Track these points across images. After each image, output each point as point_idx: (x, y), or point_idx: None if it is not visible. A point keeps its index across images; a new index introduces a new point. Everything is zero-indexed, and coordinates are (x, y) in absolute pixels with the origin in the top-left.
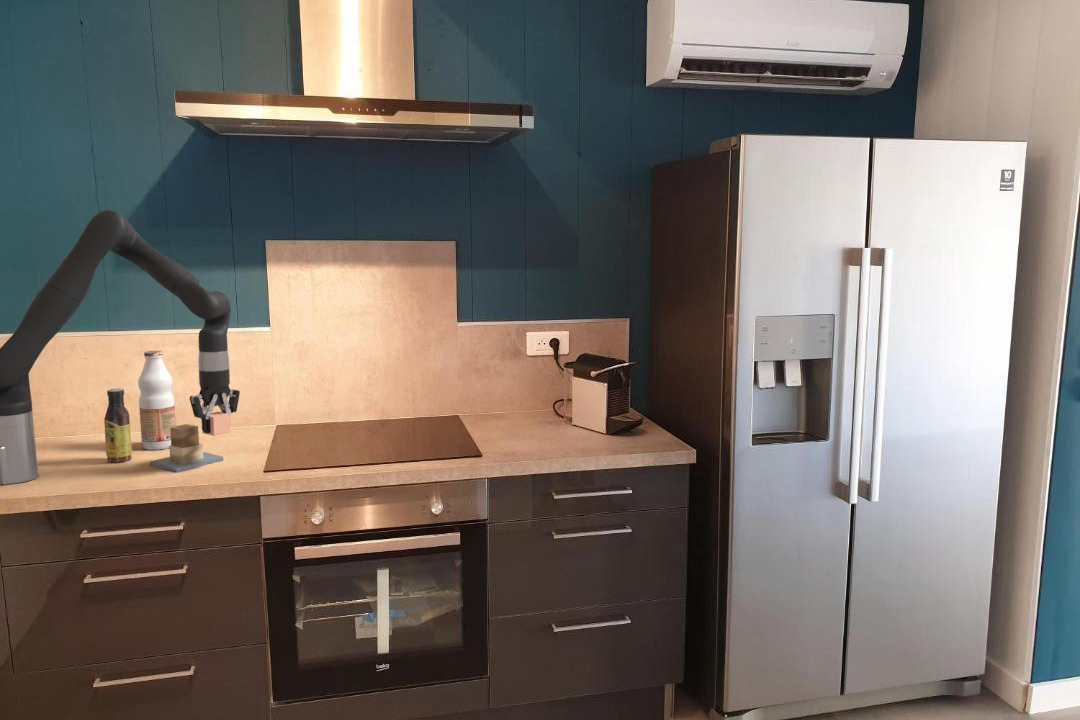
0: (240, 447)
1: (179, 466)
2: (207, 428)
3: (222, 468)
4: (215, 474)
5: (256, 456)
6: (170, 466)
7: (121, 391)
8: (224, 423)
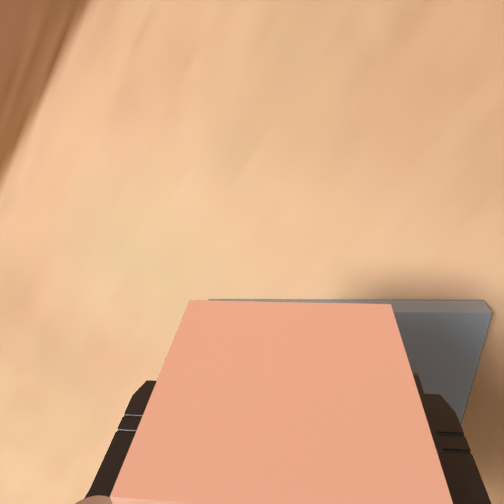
0: (53, 392)
1: (454, 330)
2: (427, 419)
3: (304, 176)
4: (419, 93)
5: (51, 229)
6: (473, 360)
7: None
8: (244, 385)
